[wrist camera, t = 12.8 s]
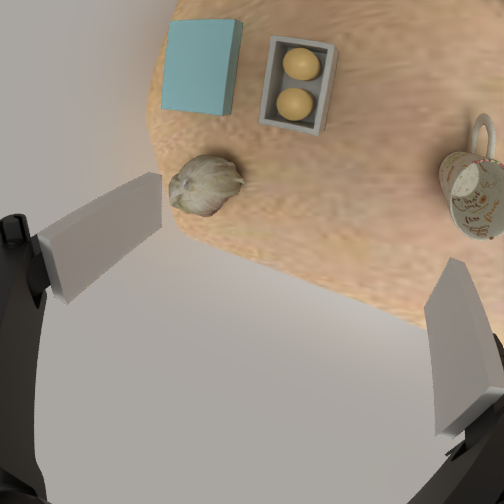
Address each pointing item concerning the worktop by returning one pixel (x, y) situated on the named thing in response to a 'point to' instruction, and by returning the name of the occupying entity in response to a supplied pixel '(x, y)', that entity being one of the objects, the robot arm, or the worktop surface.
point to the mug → (475, 187)
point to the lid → (201, 65)
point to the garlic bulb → (204, 185)
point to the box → (298, 84)
